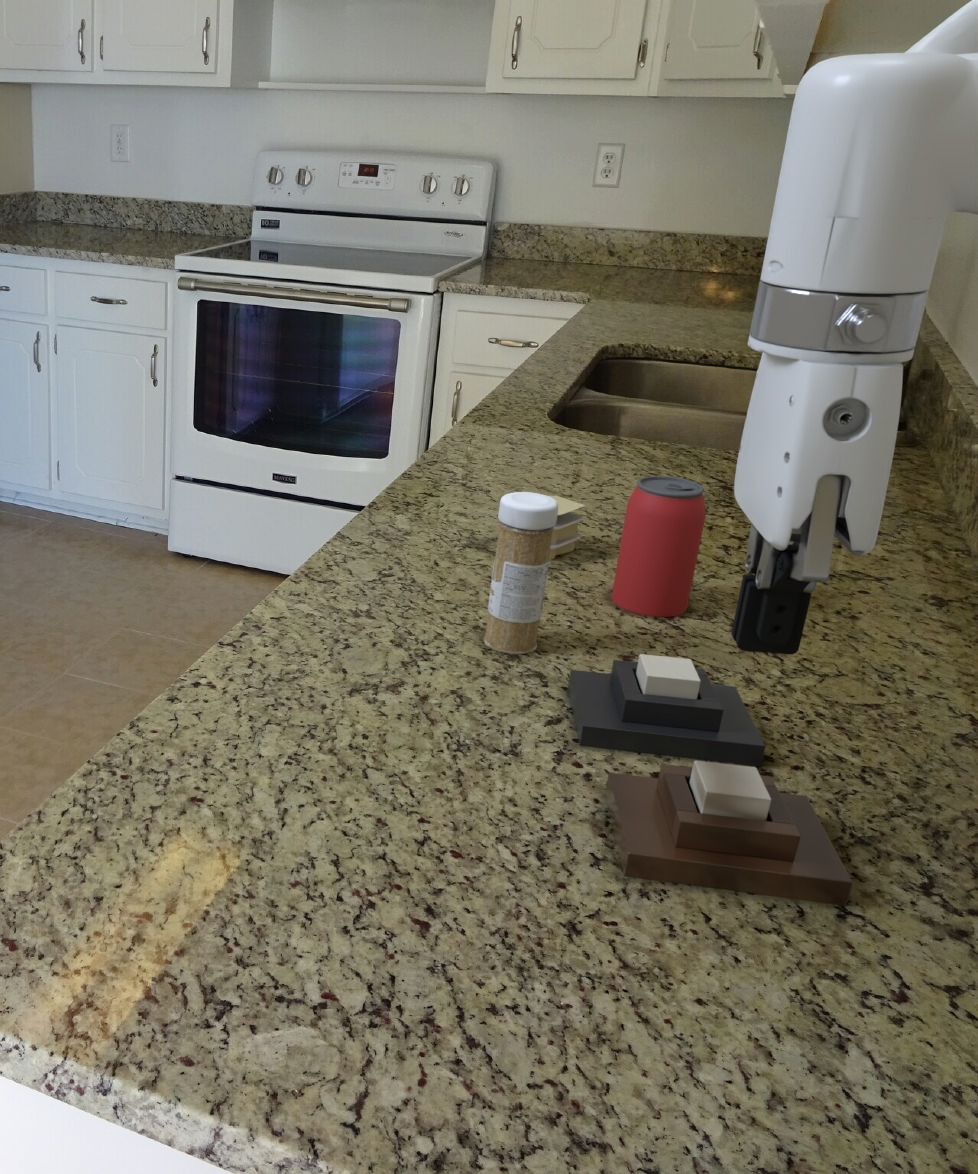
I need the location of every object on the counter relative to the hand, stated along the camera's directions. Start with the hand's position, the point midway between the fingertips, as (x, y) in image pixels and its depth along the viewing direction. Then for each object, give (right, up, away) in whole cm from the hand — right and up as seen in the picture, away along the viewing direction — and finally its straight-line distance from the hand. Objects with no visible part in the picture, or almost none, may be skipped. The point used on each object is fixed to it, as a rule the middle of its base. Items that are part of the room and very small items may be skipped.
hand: (763, 645), depth 64 cm
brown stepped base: (-1, -13, +5) cm, 14 cm away
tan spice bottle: (-6, -2, +31) cm, 32 cm away
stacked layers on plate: (+3, +6, +52) cm, 53 cm away
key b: (+2, -4, +17) cm, 18 cm away
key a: (-1, -10, +3) cm, 10 cm away
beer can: (+9, +1, +40) cm, 41 cm away
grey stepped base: (+1, -7, +18) cm, 20 cm away
